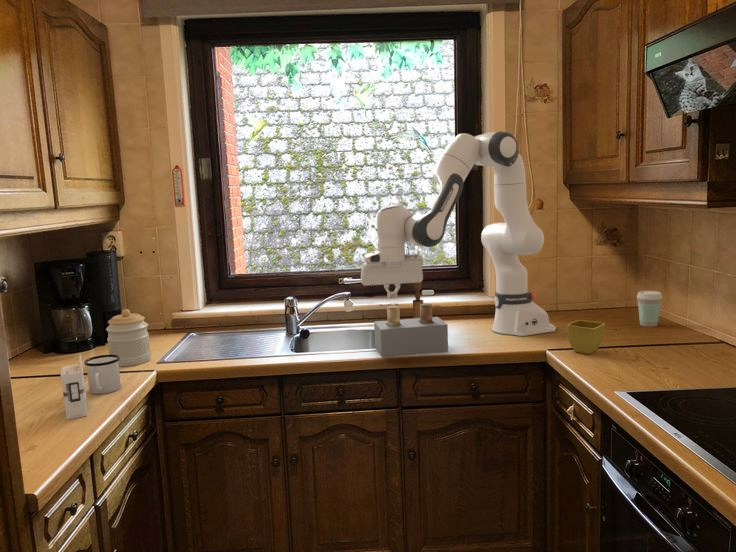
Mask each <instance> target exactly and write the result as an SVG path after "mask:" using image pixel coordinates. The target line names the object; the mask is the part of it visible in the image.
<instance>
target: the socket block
mask: <svg viewBox="0 0 736 552" xmlns="http://www.w3.org/2000/svg"><path fill="white" fill-rule="evenodd" d="M373 323H374V345H375V346H374V347H375V349H376V351H377V353H378V354H379V355H380V357H381V358H387V357H397V356H398V357H399V356H409V355H422V354H432V353H433V354H436V353H443V352H444V353H448V352H449V331H448V329H449V328H448V327H449V326H448V323H446V322H445V321H443V319H441V318H440V317H438V316H432V323H425V324H421V323H420V318H415V319H413V318H403V319H400V326H388V320H377V321H373Z"/></svg>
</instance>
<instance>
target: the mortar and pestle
mask: <svg viewBox="0 0 736 552" xmlns="http://www.w3.org/2000/svg"><path fill="white" fill-rule="evenodd" d="M412 287H413V289H414V291H415V294H414V297H415V298H414V299H413V300H412V319H415V318H420V304H424V300H423V299H421V297H422V294H421V292H420V291H421V288H422V282H420V283H413V286H412Z"/></svg>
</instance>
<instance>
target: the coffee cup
mask: <svg viewBox="0 0 736 552" xmlns="http://www.w3.org/2000/svg"><path fill="white" fill-rule="evenodd" d="M636 299H637V307H638V316H639V317H638V318H639V325H640V326H642V327H652V328H653V327H657V326H658V325H659V319H660V312H661V305H662V299H663V295H662V292H660V291H657V290H641V291H638V293H637V295H636Z"/></svg>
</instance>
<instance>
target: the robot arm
mask: <svg viewBox="0 0 736 552" xmlns="http://www.w3.org/2000/svg"><path fill="white" fill-rule="evenodd" d="M523 159H524V158H523V157H522V155H521V154H520V153H519V145H518V142H517V138H515V136H514V134H512V133H511V132H507V131H489V132H485V133H483V134H475V135H472V134H469V133H467V132H466V133H459V134H457V135H456V136H455V137H454V138H453V139H452V140H451V142H449V144H448V145H447V146H446V147H445V148H444V150H443V151H442V153H441V155H440V156H439V158H438V159H437V161H436V163H435V165H434V167H433V170H432V172H433V174H432V175H433V179H434V181H435V182H436V184H437V185H438V186H440V191H439V193H438V195H437V197H436V200H435V201H434V202H433V205H432V207H431V209H430V210H429V211H428V212H426V213H424V214H420V213H415V212H413V211H410V210H408V209H406V208H405V207H403V206H402V204H399V203H396V204H395V203H394V204H389V205H385V206H382V207H381V208H379V210H378V212H377V218H376V220H377V221H376V234H377V238H378V240H377V241H378V242H377V250H375V251H372V252H369V253H366V254H364V255H363V260H364V262H363V263H362V265H361V269H360V283H361V284H362V285H363V286H381V285H383V287H384V289H385V291H386V292H387V294H386V295H387V298H388V299H390V298H392V299H394V298H398V292H399V290H400V289H401V284H414V283H422V281H423V280H424V273H423V265H424V263H423V262H424V259H423V257H422V256H421V255H419V253H418V254H417V253H415V254H406V248H405V247H406V243H409V244H415V245H420V246H422V247H426V248H433V247H435V246H437V245H438V244H440V243H441V242H442V240H443V239H444V236H445V233H446V229H447V225H448V222H449V220H450V217H451V215H452V213H453V211H454V209H455V207H456V204H457V203H458V201H459V198H460V197H461V194H462V193H463V192H462V191H463V189H464V183H465V180H466V178H467V177H468V175H469V173H470V172H471V170H472V169H473V167H474V166H475V167H480V166H483V167H491V169H492V170H493V195H494V196H493V199H494V207H495V209H496V211H498V212H500V214H501V216H502V217H503V221H504V222H493V223H490V224H488V225H486V226H485V227H484V228H483V230H482V231H481V233H480V234H481V236H480V239H481V240H480V241H481V244H482V246H483V247H484V248H485V249H486V250H487V252H488V253H489V255H490V257H491V260H492V263H493V266H494V271H495V293H494V306H495V313H494V318H493V319H494V321H493V324H492V328H491V331H493V333H494V332H495V333H498V334H504V335H512V336H513V335H514V336H518V337H527V336H531V335H538V334H544V333H552V332H556V331H557V329H556V326H555V325H553V324H552V323H550V317H549V315H548V312H546V310H544V309H543V308H542V307H540V306H539V305H538V304H536V303H535V302H534V301H533V300H537V299H538V295H537V293H535V292H533V293H532V292H531V291H528V286H529V285H528V278H529V277H528V274H529V273H528V269H527V268H526V267H525V266H524V265H523V264H522V263H521V261H520V258H519V256H528V255H529V256H530V255H534V254H537V253H539V252H540V251H541V250H542V248H543V245H544V243H545V236H544V232H543V230H542V229H541V228H540V227H539V226H538V225H537V224H536V223H535V221H534V220H533V217H532V215H531V213H530V210H529V206H528V199H527V177H526V169H525V163H524V160H523ZM518 255H519V256H518ZM390 285H394V286H395V289H394V291H390V289H389V288H390Z"/></svg>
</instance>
